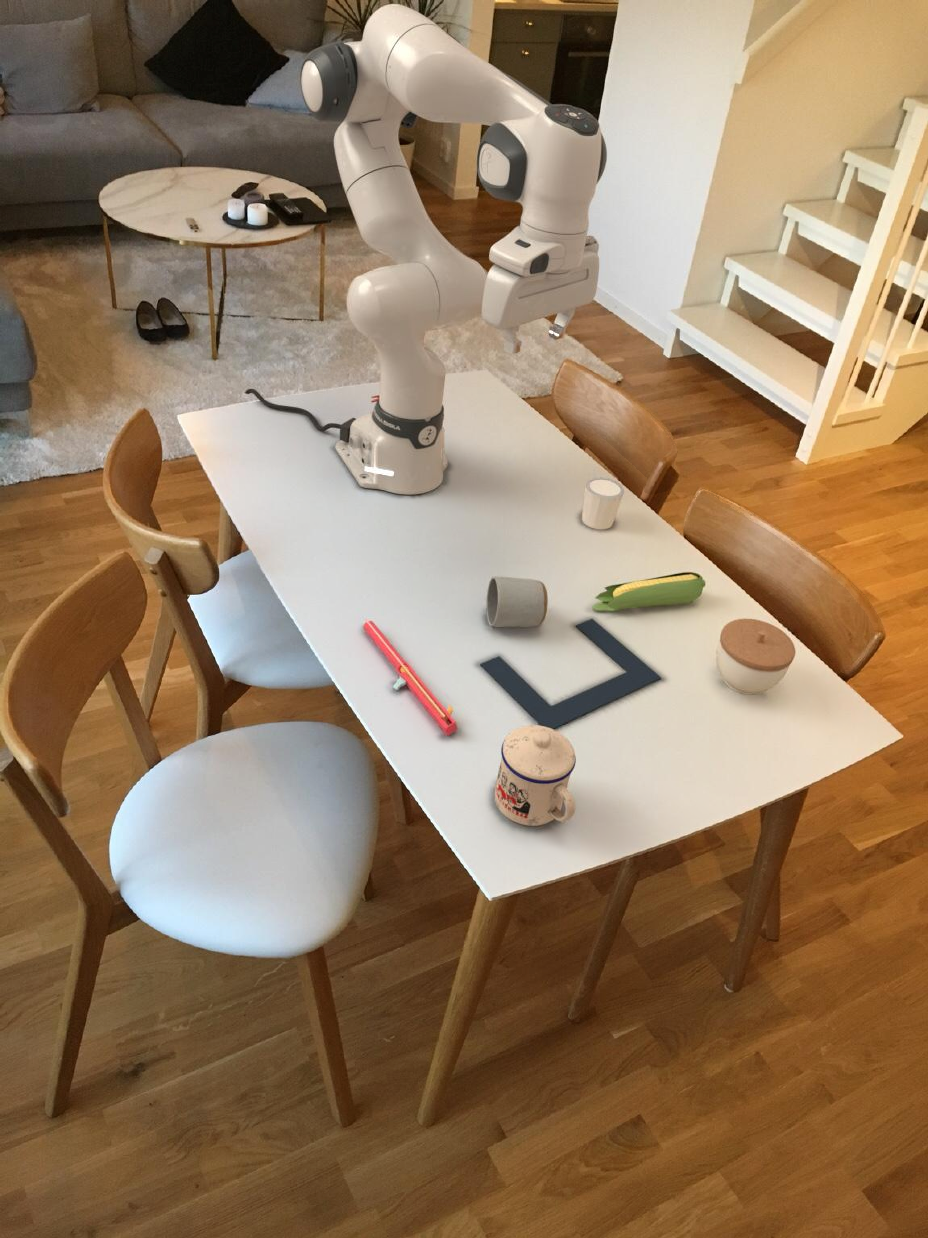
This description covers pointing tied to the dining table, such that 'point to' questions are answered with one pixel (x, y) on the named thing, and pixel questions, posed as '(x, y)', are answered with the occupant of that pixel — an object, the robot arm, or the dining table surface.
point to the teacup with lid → (535, 776)
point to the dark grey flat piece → (586, 700)
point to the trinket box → (753, 655)
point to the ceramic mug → (516, 602)
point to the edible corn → (652, 592)
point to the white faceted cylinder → (601, 502)
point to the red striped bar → (412, 680)
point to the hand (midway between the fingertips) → (534, 344)
